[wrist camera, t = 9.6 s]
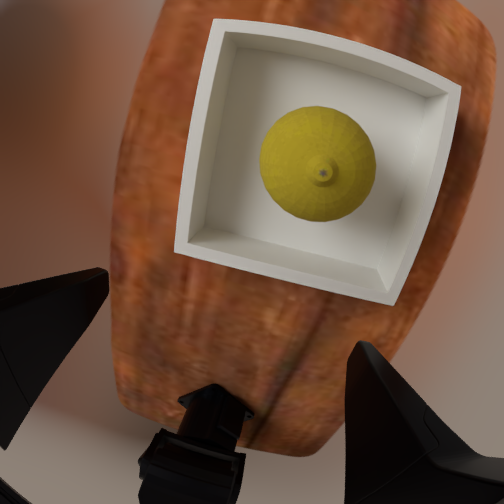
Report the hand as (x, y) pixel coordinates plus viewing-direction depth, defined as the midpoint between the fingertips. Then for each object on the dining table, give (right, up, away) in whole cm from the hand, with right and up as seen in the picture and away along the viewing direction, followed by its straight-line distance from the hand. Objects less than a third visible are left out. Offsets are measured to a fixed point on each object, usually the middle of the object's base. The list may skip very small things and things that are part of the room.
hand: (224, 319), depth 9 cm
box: (+5, +8, +8) cm, 13 cm away
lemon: (+5, +8, +8) cm, 12 cm away
